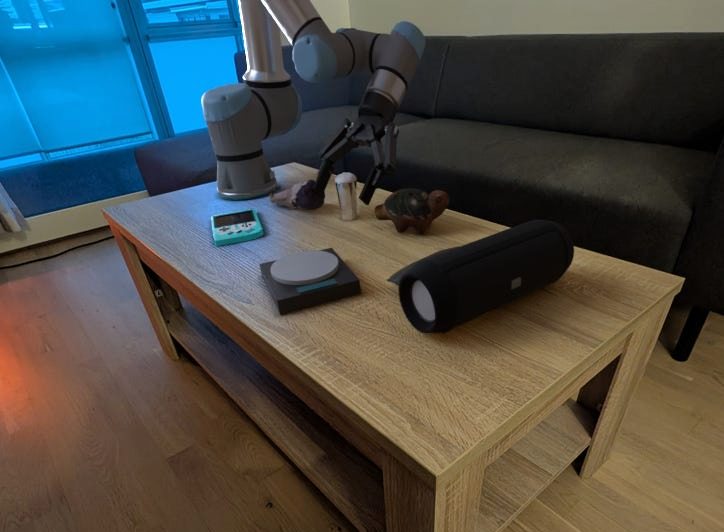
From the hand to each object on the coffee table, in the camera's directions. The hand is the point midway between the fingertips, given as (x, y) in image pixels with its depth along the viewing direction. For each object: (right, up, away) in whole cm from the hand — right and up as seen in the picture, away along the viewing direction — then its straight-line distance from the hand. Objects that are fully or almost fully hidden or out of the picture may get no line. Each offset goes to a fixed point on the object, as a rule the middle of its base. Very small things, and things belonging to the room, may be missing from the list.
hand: (339, 196), depth 92 cm
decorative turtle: (+15, -7, -2) cm, 17 cm away
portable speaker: (+24, -26, -27) cm, 45 cm away
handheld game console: (-22, -6, +4) cm, 23 cm away
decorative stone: (+18, -21, -20) cm, 34 cm away
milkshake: (+1, -3, +5) cm, 6 cm away
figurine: (-10, +1, +11) cm, 15 cm away
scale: (-3, -22, -19) cm, 29 cm away
